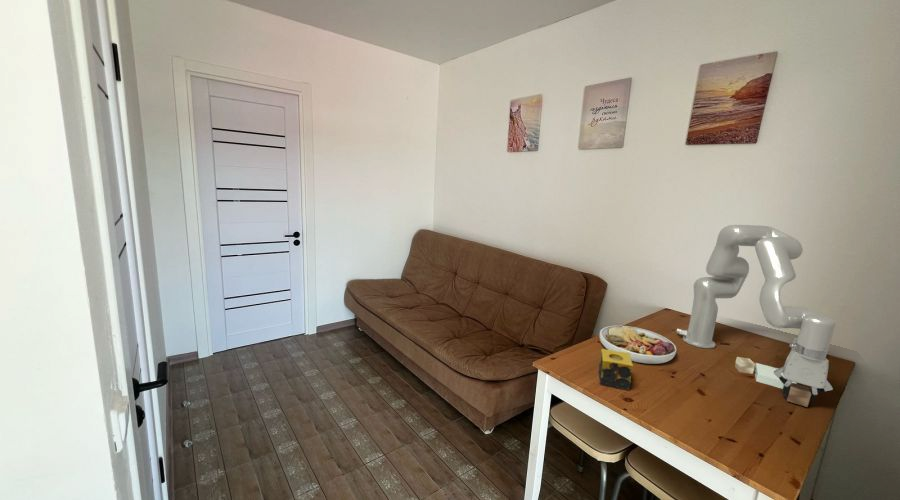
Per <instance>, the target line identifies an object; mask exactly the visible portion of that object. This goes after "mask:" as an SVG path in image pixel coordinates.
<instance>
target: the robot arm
mask: <svg viewBox="0 0 900 500" xmlns="http://www.w3.org/2000/svg"><path fill="white" fill-rule="evenodd" d="M739 246H740V247H754V248H755V250H754V251H755V252H756V255H757V259H758V262H759V265H760V267H761V271H762V274H763V277H764V283H763V284H762V287H761V289H760V292H759V293H760V294H759V298H758V299H759V305H760V307H761V311H762V314H763V318H765V321H766V322H767V323H768V324H769V325H770V326H772V327H773V328H777V329H797V330H799V331H798V335H797V337H798V338H797V342H796V343H795V344H794V343H793V342H790V343H789V346H788V347H790V348H794V349H792V350H790V351H789V353H788V355H787V358H785V359H786V360H785V362H784V365H783V366H782V367H779V368H778V369H777V370H775V371H774V374H775V375H776V376H777V377H778V378H779V379H780V381H781V382H782V383H783V384H784V386H783V389H782V391H781V393H782V394H783V397H784V398H785V399H787V398H788V394H789V391H790V384H791V383H792V382H796V383H797V384H799V385H802V386H806V387H810V388H809V390H810V392H811V397H810V400H809V403H808V406H810V405H811V403H814V400H815V396H818V394H822V393H824V392H828V391H833V389H834V388H833V386H832V385H831V383H830V381H828V380H827V379H828V372H829V365H830V364H829V363H830V362H829V359H827V354H828V351H829V349H830V345H831V341H832V338H833V335H834V334H833V333H834V331H835V327H836V322H835V321H834V319H832V318H831V317H829V316H824V315H820V314H818V313H817V312H815V311H813V310H812V309H809V308H807V307H804V306H786V305H785V306H784V305H783V303H782V299H781V297H780V296H781V294H780V293H781V290H782V288H783V287H784V285H786V284H787V283H789V282H792V281H794V280H795V279H796V277H797V275H796V272H795V269H794V266H793V264H792V261H791V260H796V259H798V258H800V257H801V255H802V254H803V252H804V251H803V246H802V244H801V242H800V241H799V240H798V239H796V238H795V237H793V236H791V235H790V234H787V233H785V232H784V231H782V230H779V229H776V228H774V227H772V226H768V225H750V224H730V225H726V226H724V227H723V228H722V229H721V230H720V231H719V233H718V235H717V239H716V243H715V246H714V249H713V250H712V253H711V255H710V257H709V260H708V261H707V264H706V267H705V270H706V273H707V275H709V276H705V277H699V278H698V279H696V280H695V281H694V283H693V301H692V302H693V303H692V308H691V314H690V318H689V323H688V328H687V329H682V328H676V333H677V334H678V335H681V336H682V340H683V341H684V342H685V343H687V345H688V344H689V345H691V346H693V347H698V348H701V349H714V348H715V347H716V343H715V341H714V340H713V337H714V333H715V327H716V321H717V318H718V312H719V307H718V303H717V302H716V301H717V300H716V299H733V298H734V297H736V296H737V295H738V294H739V292H740V290H741V289H742V286H743V285H744V283H745V282H746V279H747V277H748V274H749V273H750V265H749V262H748V261H747V260H746V258H744V257H742V256H738V255H739V253H740V247H739ZM781 373H783V376H784V377H783V376H782V375H781Z"/></svg>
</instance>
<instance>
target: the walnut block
mask: <svg viewBox="0 0 900 500" xmlns="http://www.w3.org/2000/svg"><path fill="white" fill-rule="evenodd" d="M809 387H810V386H807V385H803V384H800V383H797V384H795V383H791V384H790V391H789V394H788V398H786V402H790V403H793V404H796V405H799V406H803V407H806V408H808V406H809V404H808V403H809V400H810V397H811V392H810V388H809Z"/></svg>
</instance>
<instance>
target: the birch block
mask: <svg viewBox="0 0 900 500" xmlns="http://www.w3.org/2000/svg"><path fill="white" fill-rule="evenodd" d="M755 364H756V362H754V361H752V360H751V359H750V358H747V357H742V356H741V357H740V356H736V359H735V364H734V368H735V369H737V370H738V372H739V373H743V374H744V373H745V374H749V375H751V374H752V375H753V374H754V372H755V371H754V369H755Z"/></svg>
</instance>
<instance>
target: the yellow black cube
mask: <svg viewBox="0 0 900 500" xmlns="http://www.w3.org/2000/svg"><path fill="white" fill-rule="evenodd" d="M633 368H634V364H633V361H631V357H630V353H625V352H618V351H612V350H608V349H606V348H601V350H600V359H599V365H598V380H600V381H599V385H600V384H601V385H600V386H603V385H604V387H608V388H609V387H610V388H613V387H614V389H620V390H624V391H630V389H631V383H632V381H631V380H632V374H633Z"/></svg>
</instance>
